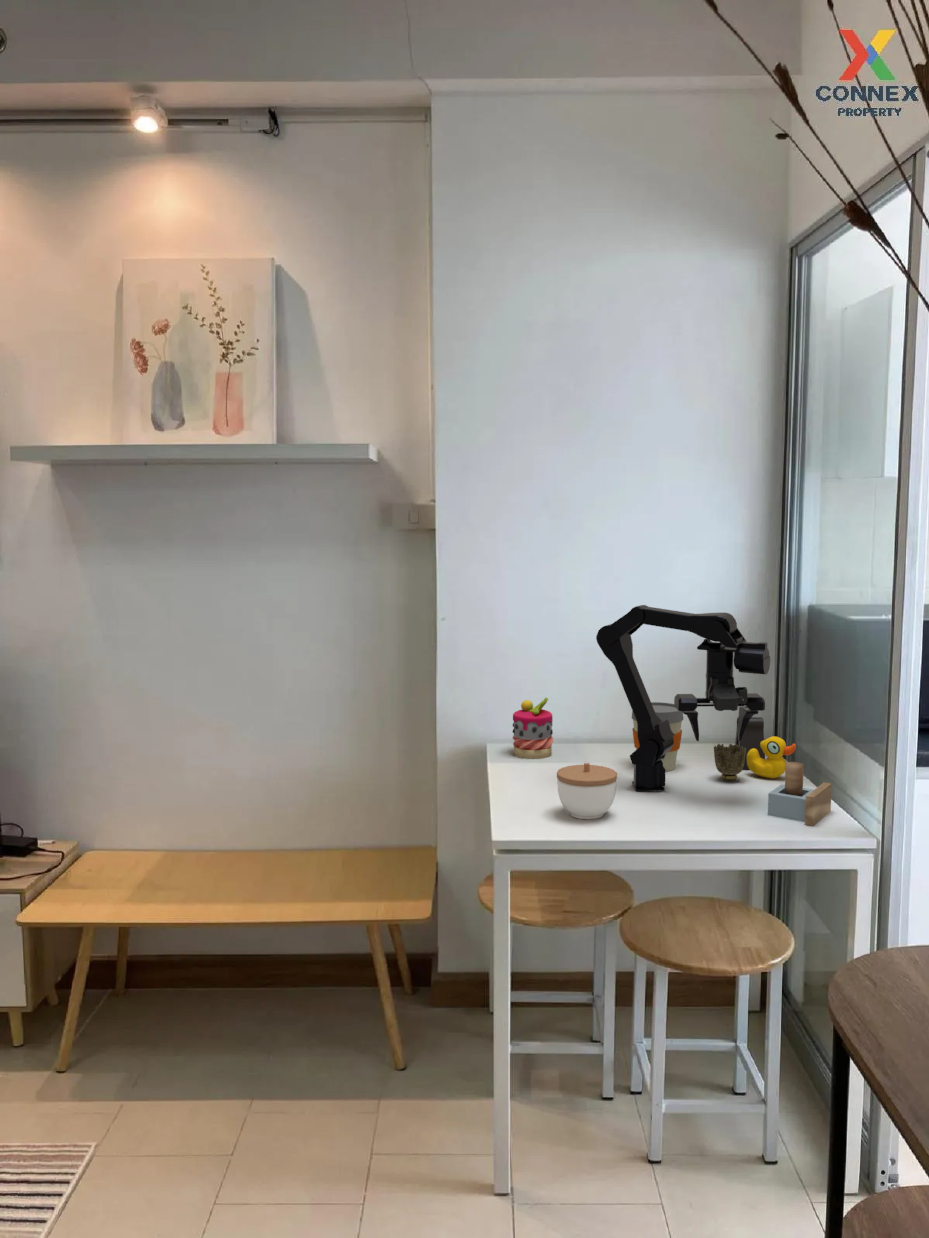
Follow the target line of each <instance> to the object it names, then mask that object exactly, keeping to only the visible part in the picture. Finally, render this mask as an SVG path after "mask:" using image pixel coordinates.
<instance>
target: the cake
mask: <svg viewBox="0 0 929 1238" xmlns="http://www.w3.org/2000/svg"><path fill="white" fill-rule="evenodd" d="M548 701H549V698H548V697H544V699H543V700H541V701H540V702H539V703H537V705H535V706H534V704H533V702H532V701H531V700H529V699H525V700H523V701H522V702H521V704H520V708H521V709H519V710H516V711H514V712H513V713H512V721H513V723H512V727H513V729H512V733H513V735H512V740H514V741H513V743H512V745H513V755H514V756H515V757H517V758H519V759H526V760H541V759H546V758H547V759H548V758H549V757H552V755H553V752H552V747H553V746H552V745H553V743H554V737H553V734H554V732H553V729H552V727H553V713H552V711H551V712H550V711H549V710H545V709H543V708H544V706H545V705H546V704H548Z"/></svg>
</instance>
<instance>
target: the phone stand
mask: <svg viewBox="0 0 929 1238" xmlns="http://www.w3.org/2000/svg"><path fill="white" fill-rule="evenodd" d="M764 728H765V721H764V718H763V717H761V716H760V717H758V716H757V717H753V716H752V717H751V718H750V720H749V722H748V724H747V726H746V729H745V731H744V734H743V736H742V739H741V741H739V740H738V733H737V732H738V717H736V731H735V732H736V733H735V742H734V745H735V744H737V745H739V747H741V746H743V749H744V747H745V748H746V755H745V762H744V766H743V769H742V771H751V770H750V769H749V768H748V765H747V754H748V752H749V750H750V749H753V748H755V749H757V750H758V753H759V756H760V758H762V759H766V755H765V754H764V752H763V750H762V748H761V746H760V743H761V741H763V740H765V732H764V731H765V730H764Z"/></svg>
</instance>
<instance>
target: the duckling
mask: <svg viewBox="0 0 929 1238" xmlns="http://www.w3.org/2000/svg"><path fill="white" fill-rule="evenodd" d="M760 746H761V748H762V750H763V752H764V754H765V757H767V758H765V759H762V758H760V756H759V753H758V750H757V749H755V748H753V749H750V750H749V752H748V754H747V765H748V768H749V769H750V770H749V771H750V772H752V773H753V774H754V775H756V776H758V777H762V778H766V779H777V778H779V777H780V776H782V775H783V774H784V773H785V767H786V763H787V760H786V759H785V758H784V757H783V756H790V755H792V754H794V753H795V751H796V748H797V745H796V743H792V745H789V746H787V744H786V741H785V740H784V739H783V738H781V737H779V736H777V735H776V736H774V735H773V736H770V737H768V738H766V739H764V740H763V741H761V743H760Z"/></svg>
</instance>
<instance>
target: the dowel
mask: <svg viewBox="0 0 929 1238" xmlns="http://www.w3.org/2000/svg"><path fill="white" fill-rule="evenodd" d="M804 765H805V764H804V763H801V762H800V761H799V762H798V761H788V762H787V761H786V767H785V772H784V773H785V774H784V785H785V794H788V795H794V796H800V797H802V796H803V788H804Z"/></svg>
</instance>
